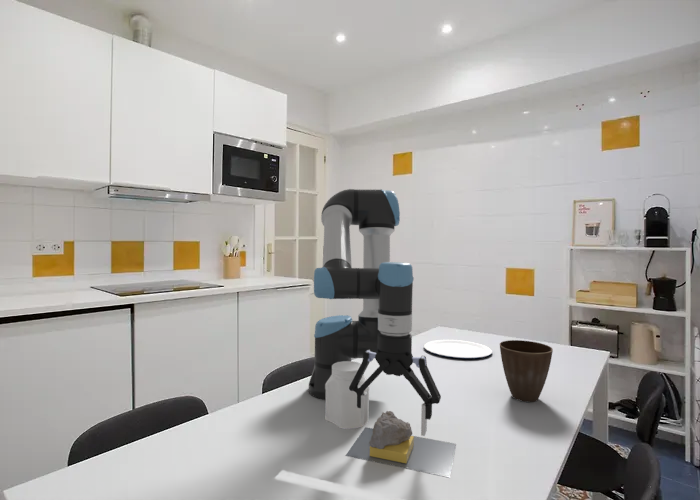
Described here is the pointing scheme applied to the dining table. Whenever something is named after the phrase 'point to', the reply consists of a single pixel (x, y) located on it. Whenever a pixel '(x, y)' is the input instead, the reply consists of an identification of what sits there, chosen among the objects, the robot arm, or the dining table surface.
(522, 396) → the plant pot
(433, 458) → the slate board
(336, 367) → the jar
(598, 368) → the dining table surface
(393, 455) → the yellow block
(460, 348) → the plate
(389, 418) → the stone
